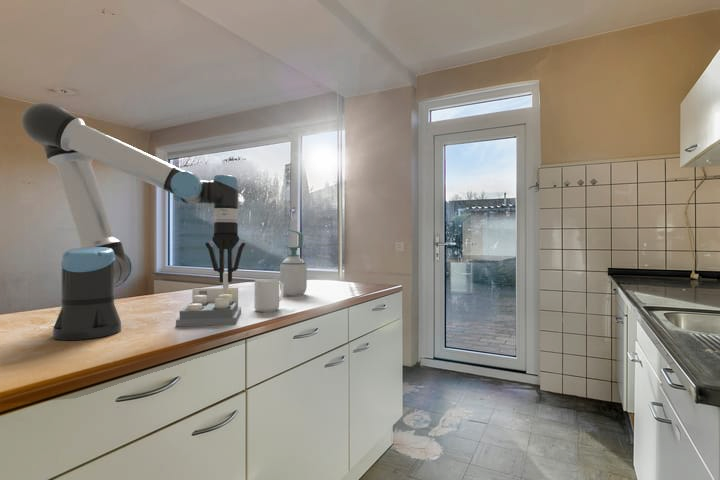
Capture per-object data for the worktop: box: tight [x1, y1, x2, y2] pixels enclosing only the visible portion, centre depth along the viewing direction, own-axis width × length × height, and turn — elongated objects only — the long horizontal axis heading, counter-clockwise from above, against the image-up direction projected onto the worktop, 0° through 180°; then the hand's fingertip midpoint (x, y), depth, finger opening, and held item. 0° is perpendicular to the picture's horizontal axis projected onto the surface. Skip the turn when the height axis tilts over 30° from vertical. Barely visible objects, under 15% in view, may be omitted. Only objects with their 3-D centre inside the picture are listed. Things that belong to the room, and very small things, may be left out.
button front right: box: [215, 298, 229, 309], centre depth 117 cm, size 4×4×3 cm
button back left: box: [193, 295, 207, 306], centre depth 124 cm, size 4×4×3 cm
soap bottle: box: [279, 228, 308, 297], centre depth 176 cm, size 12×12×31 cm
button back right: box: [219, 294, 232, 305], centre depth 125 cm, size 4×4×3 cm
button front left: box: [186, 303, 202, 310], centre depth 116 cm, size 4×4×3 cm
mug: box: [253, 278, 285, 313], centre depth 139 cm, size 12×9×11 cm
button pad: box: [175, 287, 242, 327], centre depth 122 cm, size 17×18×9 cm
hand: (225, 292), depth 125 cm, fingers closed
